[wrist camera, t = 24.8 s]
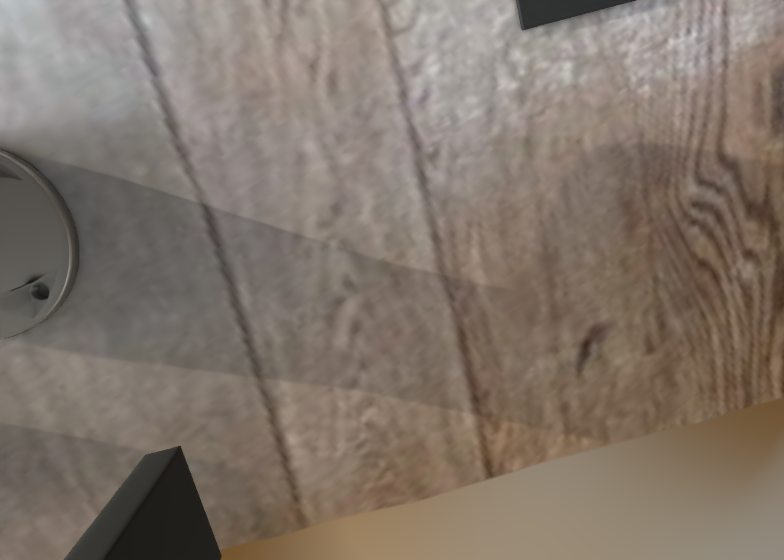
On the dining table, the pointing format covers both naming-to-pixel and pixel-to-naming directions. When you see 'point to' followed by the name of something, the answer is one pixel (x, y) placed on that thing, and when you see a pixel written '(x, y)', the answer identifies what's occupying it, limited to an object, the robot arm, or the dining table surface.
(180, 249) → the dining table surface
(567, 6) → the mat
